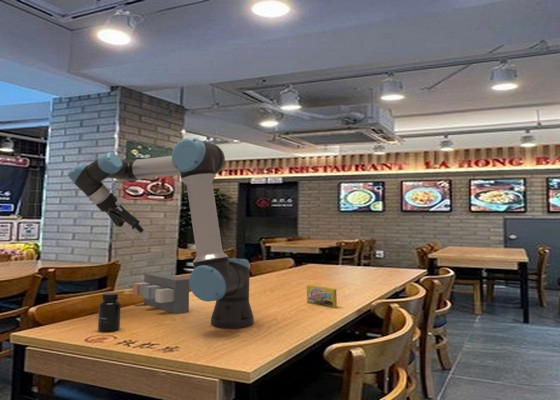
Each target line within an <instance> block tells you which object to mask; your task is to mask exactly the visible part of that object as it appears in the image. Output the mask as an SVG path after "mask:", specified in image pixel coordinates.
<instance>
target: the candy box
mask: <svg viewBox="0 0 560 400" xmlns="http://www.w3.org/2000/svg"><path fill="white" fill-rule="evenodd" d="M306 303H307V304H309V305H313V306H320V307H326V308H328V309H330V308H331V309H338V306H337V305H338V304H337V303H338V301H337V288H333V287H326V286H322V285H321V286H320V285H315V284H307V285H306Z"/></svg>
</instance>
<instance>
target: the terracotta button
mask: <svg viewBox="0 0 560 400" xmlns="http://www.w3.org/2000/svg"><path fill="white" fill-rule="evenodd" d="M144 286H150V282H144V281H143V282H135V283H132V295H134V296H144Z"/></svg>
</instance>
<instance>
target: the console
mask: <svg viewBox="0 0 560 400" xmlns="http://www.w3.org/2000/svg"><path fill="white" fill-rule="evenodd" d="M143 278H144V280H143V282H150V286H153V285H162V289H166V288H174V301H173V302H165V303H159V302H156V301H155V298H154V299H146V298H144V297H143V304H145V305H148V306H150V307H153V308H157V309H159V310H162V311H165V312H168V313H171V314H173V315H174V314H175V315H177V314H183V313H184V314H186V313H189V312H190V309H189V308H190V285H189V278H185V277H181V276H175V275H170V274H166V273H163V272H162V273H160V272H148V273H144V277H143Z"/></svg>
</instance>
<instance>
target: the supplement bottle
mask: <svg viewBox="0 0 560 400" xmlns="http://www.w3.org/2000/svg"><path fill="white" fill-rule="evenodd" d="M118 299H119V293H117V292H104V293H103V294H102V297H101V300H102V301H101V302H100V303H99V304H98V321H97V323H98V324H97V330H98V331H99V332H101V333H112V332H117V331H119V330H120V329H121V328H120V327H121V309H122V307H121V302H120V301H119V300H118Z"/></svg>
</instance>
